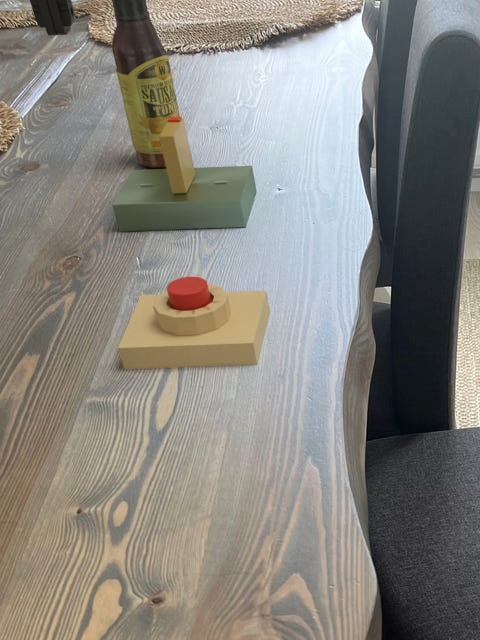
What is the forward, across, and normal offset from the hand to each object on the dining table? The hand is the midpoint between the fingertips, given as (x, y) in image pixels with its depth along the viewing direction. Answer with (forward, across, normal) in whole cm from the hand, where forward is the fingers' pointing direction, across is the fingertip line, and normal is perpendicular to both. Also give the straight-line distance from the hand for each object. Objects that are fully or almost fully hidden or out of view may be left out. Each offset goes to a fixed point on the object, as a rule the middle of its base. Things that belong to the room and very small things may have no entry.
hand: (60, 32), depth 82 cm
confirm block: (+24, +7, -7) cm, 26 cm away
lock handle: (+21, +2, +23) cm, 31 cm away
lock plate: (+24, +2, +23) cm, 33 cm away
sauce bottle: (+24, -3, +39) cm, 46 cm away
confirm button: (+20, +7, -7) cm, 23 cm away
